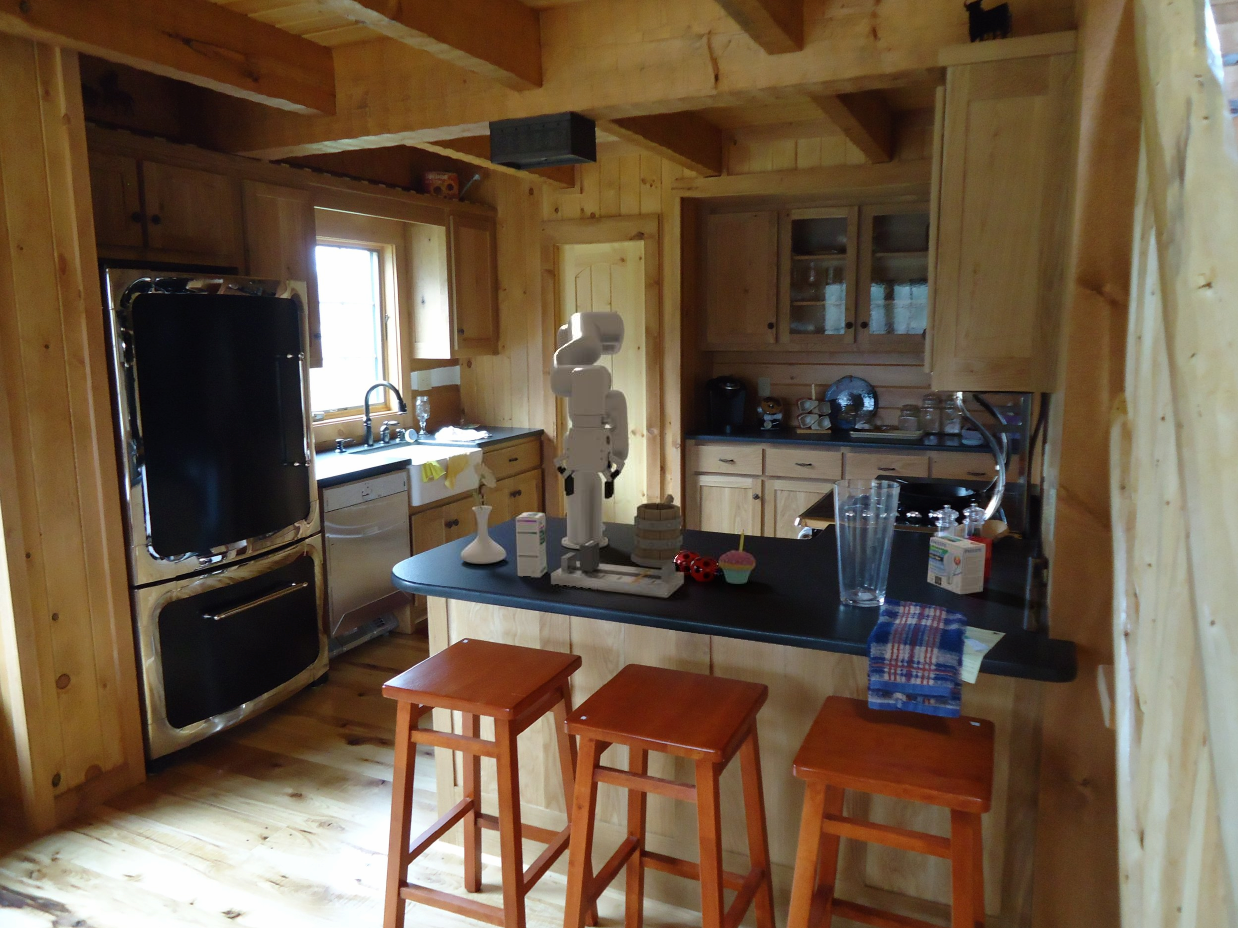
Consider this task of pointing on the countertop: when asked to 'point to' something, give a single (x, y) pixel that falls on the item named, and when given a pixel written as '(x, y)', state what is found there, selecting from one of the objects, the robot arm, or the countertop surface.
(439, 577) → the countertop surface
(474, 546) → the flower in vase
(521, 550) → the syrup box
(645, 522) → the tankard
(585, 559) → the fader
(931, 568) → the light bulb box
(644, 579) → the board
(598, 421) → the robot arm
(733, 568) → the cupcake
